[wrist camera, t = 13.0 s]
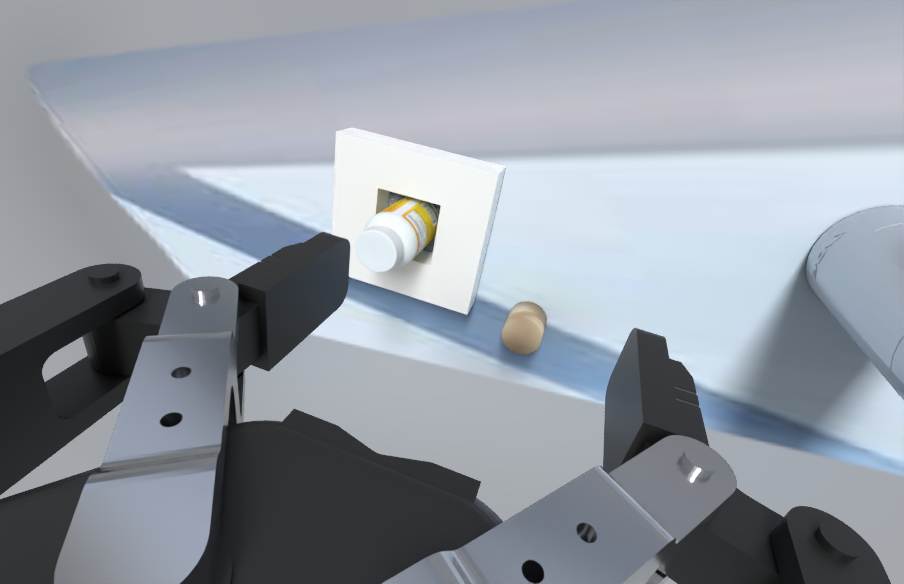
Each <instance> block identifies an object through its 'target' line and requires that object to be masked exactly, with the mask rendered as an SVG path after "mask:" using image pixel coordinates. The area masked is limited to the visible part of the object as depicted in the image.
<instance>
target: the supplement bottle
mask: <svg viewBox="0 0 904 584" xmlns="http://www.w3.org/2000/svg"><path fill="white" fill-rule="evenodd" d="M438 219H439V214H438V211H437V209H436V208H435V206H434V205H433V204H432V203H430V202H427V201H423V200H419V199H416V198H412V197H409V196H405V197H403V198H401V199H400V200H398V201H397V202H395V203H393V204H392V205H390V206H389V207H387V208H385V209H384V210H382V211H381V212H379V213H378V214H376V215H374V216H373V217H372V218H371V219H370V220H369V221H368V222H367V224H366V225H365V228H364V232H362V233H361V234H360V235H359V237H358V238H357V241H356V253H357V256H358V258H359V260H360V262H361V263H362V264H363V265H364V266H365V267H366V268H368V269H369V270H371V271H374V272H380V273H381V272H386V271H389V270H390V269H392V268H397V267H401V266H404V265H406V264H408V263H409V262H410V261H411V260H412V259H413V258H414V257H415V256H416V255H418V254H419V253H420V252H421V251H422V250H423V249H424V248H425V247H426V246H427V245H428V244H429V243H430V242H431V241H432V240H433V239H434V238H435V237H436V231H437V225H438Z"/></svg>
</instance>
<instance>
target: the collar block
mask: <svg viewBox="0 0 904 584" xmlns="http://www.w3.org/2000/svg"><path fill="white" fill-rule="evenodd" d="M505 168H506V167H505V166H501V165H497V164H493V163H489V162H485V161H482V160H478V159H474V158H470V157H466V156H462V155H458V154H454V153H450V152H446V151H442V150H438V149H435V148H431V147H427V146H423V145H419V144H415V143H411V142H407V141H403V140H399V139H395V138H391V137H387V136H384V135H380V134H376V133H372V132H368V131H364V130H360V129H356V128H352V127H351V128H348V129H344V130H340V131H337V132H336V147H335V171H334V195H333V219H332V235H335V236H338V237H342V238H345V239H347V240H348V241H349V242H350V263H349V277H351V278H354V279H357V280H360V281H364V282H367V283H370V284H373V285H376V286H379V287H382V288H385V289H388V290H391V291H395V292H398V293H401V294H404V295H407V296H410V297H413V298H416V299H419V300H423V301H426V302H429V303H432V304H435V305H438V306H441V307H444V308H447V309H450V310H454V311H457V312H460V313H463V314H466V315H467V314H468V312H469V311H470V309H471V307H472V305H473V304H474V302H475V298H476V294H477V289H478V285H479V281H480V276H481V272H482V268H483V263H484V259H485V255H486V250H487V246H488V242H489V238H490V233H491V229H492V225H493V220H494V216H495V212H496V207H497V203H498V199H499V194H500V190H501V186H502V181H503V177H504V173H505ZM390 191H391V192H394V193H398V194H401V195H405V196H409V197H412V198H416V199H419V200H423V201H427V202H430V203H434V204H437V205H441V207H440V213H439V219H438V225H437V231H436V237H435V243H434V249H433V253H432V252H428V251H425V250H422V251H421V252H420V253H419V254H418V255H416V256H415V257H414V258H413V259H412V260H411V261H410V262H409V263H408V264H406V265H404V266H401V267H397V268H392V269H390V270H389V271H386V272H381V273H380V272H374V271H371V270H369V269H368V268H366V267H365V266H364V265H363V264H362V263H361V262H360V260H359V258H358V256H357V253H356V241H357V238H358V237H359V235H360V234H361V233H362V232H364V228H365V225H366V224H367V222H368V221H369V220H370V219H371V218H372V217H373V216H374V215H376V214H378V213H379V212H381V211H382V210H384V209H385V208H387V207H388V204H389V194H390Z"/></svg>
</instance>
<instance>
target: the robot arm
mask: <svg viewBox="0 0 904 584" xmlns="http://www.w3.org/2000/svg"><path fill="white" fill-rule="evenodd" d="M349 263H350V242H349V241H348V240H347V239H345V238H342V237H338V236H335V235H332V234H329V233H325V232H321V233H319V234H318V235H316V236H314V237H313V238H311V239H309V240H308V241H306V242H304V243H298V244H294V245H290V246H287V247H284V248H282V249H280V250H278V251H277V252H275V253H273V254H272V256H268V257H266V258H265V259H263V260H261V262H258V263H256V264H254V265H252V266H251V267H249V268H247V269H246V270H244V271H242V272H240V273H239V274H237V275H235V276H233V277H232V278H230V279H225V278H221V277H209V276H208V277H197V278H192V279H189V280H186V281H183V282H181V283H179V284H178V285H176V286H175V287H174V288H173V289H172V291H170V290H161V289H153V288H144V286H143V281H142V277H141V273H140V271H139V270H138V269H136V268H135V267H132V266H129V265H124V264H101V265H94V266H90V267H87V268H83V269H81V270H78V271H76V272H73V273H71V274H69V275H67V276H64V277H62V278H60V279H57V280H55V281H53V282H51V283H48V284H46V285H44V286H42V287H39V288H37V289H35V290H32V291H30V292H28V293H26V294H23V295H21V296H19V297H16V298H14V299H12V300H10V301H7V302H5V303H3V304H1V305H0V495H1V494H2V493H4V492H5V491H6V490H8V489H9V488H10V487H11V486H12V485H14V484H15V483H17V482H18V481H19V480H21V479H22V478H23V477H25V476H26V475H27V474H28V473H30V472H31V471H32V470H34V469H35V468H36V467H38V466H39V465H40V464H42V463H43V462H44V461H45V460H47V459H48V458H49V457H51V456H52V455H53V454H55V453H56V452H57V451H58V450H60V449H61V448H63V447H64V446H65V445H66V444H67V443H69V442H70V441H72V440H73V439H74V438H75V437H77V436H78V435H79V434H81V433H82V432H83V431H85V430H86V429H87V428H89V427H90V426H91V425H93V424H94V423H95V422H96V421H98V420H99V419H100V418H102V417H103V416H104V415H106V414H107V413H108V412H109V411H111V410H112V409H113V408H115V407H116V406H117V405H118V404H120V403H121V402H123V403H122V406H121V409H120V412H119V415H118V418H117V421H116V424H115V427H114V430H113V433H112V436H111V439H110V442H109V445H108V448H107V451H106V454H105V457H104V460H103V463H102V465H101V467H98V468H95V469H92V470H89V471H86V472H83V473H80V474H77V475H74V476H71V477H68V478H65V479H62V480H59V481H56V482H52V483H49V484H46V485H43V486H40V487H37V488H34V489H31V490H28V491H25V492H22V493H18V494H15V495H12V496H9V497H6V498H3V499H0V584H663V583H664V582H665V581H666V580H667V579H668V578H671V579H672V580H673V581H675V582H676V583H677V584H891V583H890V580H889V578H888V576H887V574H886V572H885V570H884V567H883V565H882V563H881V561H880V560H879V558H878V556H877V555H876V553H875V552H874V550H873V549H872V548H871V547H870V546H869V545H868V544H867V542H866V541H865V540H864V539H863V538H862V537H861V536H860V535H858V534H857V533H856V532H855V531H854V530H853V529H851V528H850V527H849V526H848V525H846V524H845V523H843V522H842V521H840V520H839V519H837V518H835V517H834V516H832V515H830V514H828V513H826V512H823V511H821V510H818V509H815V508H812V507H805V506H799V507H795V508H792V509H791V510H790V511H789V512H788V513H787V514H786V515H785V517H782V516H781V515H779V514H777V513H776V512H774V511H772V510H770V509H769V508H767V507H765V506H764V505H762V504H760V503H759V502H757V501H755V500H754V499H752V498H750V497H749V496H747V495H746V494H744V493H743V492H741V491H740V490H739V489H737V488H736V485H737V483H736V482H737V481H736V477H735V475H734V472H733V470H732V469H731V468H730V466H729V464H728V463H727V462H726V461H725V460H724V459H723V458H722V457H721V456H720V455H719V454H718V453H717V452H716V451H714V450H713V449H712V448H710V447H709V444H708V439H707V435H706V431H705V427H704V423H703V418H702V414H701V410H700V408H699V401H698V397H697V395H696V389H695V384H694V380H693V377H692V376H691V375H690V373H689V372H688V371H687V369H686V368H685V367H684V365H683V364H682V363H681V362H678V361H675V360H672V359H669V355H668V349H667V344H666V339H665V337H663V336H660V335H657V334H653V333H650V332H647V331H644V330H640V329H637V328H634V329H633V330H632V331H631V333H630V335H629V337H628V339H627V341H626V343H625V346H624V348H623V350H622V352H621V355H620V357H619V359H618V361H617V363H616V366H615V368H614V370H613V372H612V375H611V377H610V380H609V383H608V387H607V391H606V398H605V428H604V459H603V467H601V466H596V467H594V468H592V469H590V470H588V471H587V472H585V473H583V474H582V475H580V476H578V477H577V478H575V479H573V480H572V481H570V482H569V483H567V484H565V485H564V486H562V487H560V488H559V489H557V490H555V491H554V492H552V493H550V494H549V495H547V496H545V497H544V498H542V499H540V500H539V501H537V502H536V503H534V504H532V505H530V506H529V507H527V508H525V509H524V510H522V511H521V512H519V513H517V514H516V515H514V516H512V517H511V518H509V519H508V520H506V521H504V522H503V521H502V520H501V519H500V518H499V517H498V516H497V515H496V513H494V512H493V511H492V510H491V509H490V508H489V507H488V506H487V505H485V504H484V503H483V502H481V501H480V500H479V499H477V498H476V496H477V493H478V489H479V486H480V483H481V482H480V481H478V480H475V479H473V478H470V477H467V476H465V475H462V474H460V473H457V472H455V471H452V470H449V469H447V468H444V467H442V466H439V465H437V464H434V463H431V462H425V461H418V460H412V459H406V458H399V457H393V456H386V455H381V454H378V453H376V452H374V451H372V450H371V449H370V448H368V447H367V446H365V445H364V444H363V443H361V442H360V441H358V440H357V439H356V438H354V437H353V436H351V435H350V434H348V433H347V432H346V431H344V430H343V429H341V428H340V427H339V426H337V425H334V424H332V423H329V422H327V421H324V420H322V419H319V418H316V417H314V416H312V415H309V414H306V413H304V412H301V411H299V410H296V409H294V410H293V411H292V412H291V413H290V414H289V415H288V416H287V417H286V418H285V419H284V420H283V422H280V421H250V422H243V420H244V396H245V371H244V370H245V369H246V368H247V367H249V366H250V365H253V366H256V367H258V368H261V369H264V370H266V371H270V370H271V369H272V368H273V367H274V366H275V365H276V364H277V363H278V362H280V361H281V360H282V359H283V358H284V357H285V356H286V355H287V354H288V353H289V352H291V351H292V350H293V349H294V348H295V347H296V346H297V345H298V344H299V343H300V342H302V341H303V340H304V339H305V338H306V337H307V336H308V335H309V334H310V333H311V332H313V331H314V330H315V329H316V328H317V327H318V326H319V325H320V324H321V323H322V322H324V321H325V320H326V319H327V318H328V317H329V316H330V315H331V314H332V313H333V312H335V311H336V310H337V309H338V308H339V307H340V306H341V304H342V303H343V301H344V299H345V297H346V294H347V290H348V279H349ZM806 275H807V280H808V282H809V285H810V287H811V289H812V290H813V291H814V293H815V294H816V295H817V296H818V298H819V299H820V300H821V301H822V302H823V304H824V305H825V306H826V307H827V309H828V310H829V311H830V313H831V314H832V315H833V316H834V317H835V319H836V320H837V321H838V322H839V323H840V325H841V326H842V327H843V328H844V329H845V331H846V332H847V333H848V334H849V335H850V337H851V338H852V339H853V340H854V341H855V343H856V344H857V345H858V346H859V347H860V349H861V350H862V351H863V352H864V353H865V355H866V356H867V357H868V358H869V359H870V361H871V362H872V363H873V364H874V365H875V367H876V368H877V369H878V370H879V371H880V373H881V374H882V375H883V376H884V377H885V379H886V380H887V381H888V382H889V383H890V385H891V386H892V387H893V388H894V389H895V391H896V392H897V393H898V394H899V395H900V396H901V397H902V399H903V400H904V206H883V207H875V208H871V209H867V210H864V211H860V212H857V213H855V214H853V215H851V216H848V217H846V218H844V219H842V220H841V221H839V222H838V223H836V224H834V225H833V226H832V227H830V228H829V229H828V230H827V231H826V232H825V233H824V234H822V235H821V237H820V238H819V239H818V240H817V242H816V243H815V244H814V246H813V248H812V250H811V252H810V254H809V256H808V260H807V265H806ZM80 337H83V340H84V343H85V347H86V350H87V353H88V356H87V357H85V358H83V359H82V360H80V361H78V362H77V363H75V364H74V365H72V366H71V367H69V368H67V369H66V370H64V371H62V372H61V373H59V374H58V375H56V376H54V377H53V378H51V379H50V380H48V381H46V382H44V379H43V376H42V368H43V365H44V363H45V361H46V360H47V359H48V357H49V356H50V355H52V354H53V353H54V352H56V351H57V350H59V349H61V348H63V347H64V346H66V345H68V344H69V343H71V342H73V341H75V340H76V339H78V338H80Z"/></svg>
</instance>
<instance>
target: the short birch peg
mask: <svg viewBox="0 0 904 584" xmlns="http://www.w3.org/2000/svg"><path fill="white" fill-rule="evenodd" d="M546 321H547V318H546V314H545V312H544V310H543V309H542V308H541V307H540V306H539V305H537V304H535V303H532V302H520V303H518V304H516V305H515V306H513V308H512V309H511V311H510V313H509V316H508V318H507V320H506V323H505V325H504V327H503V330H502V335H501V336H502V341H503V343H504V344H505V346H506V347H507V348H508V349H509V350H511V351H512V352H514V353H517V354H523V355H524V354H530V353H533V352H535V351H536V350H537V349H538V348H539V346H540V344H541V341H542V337H543V333H544V329H545V326H546Z"/></svg>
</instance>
